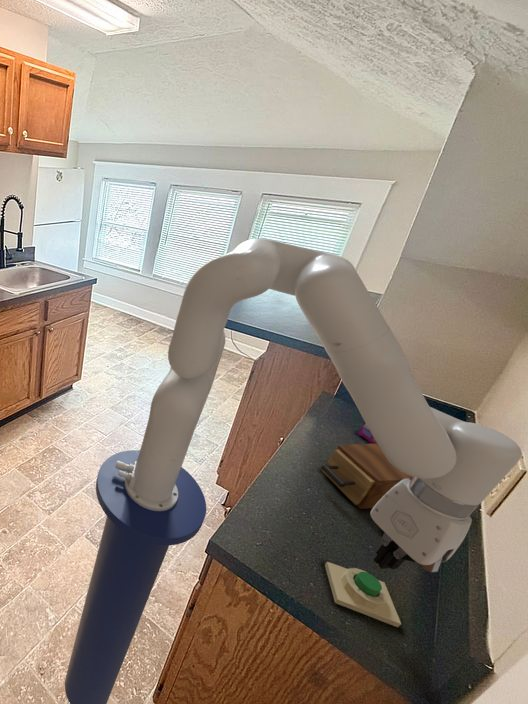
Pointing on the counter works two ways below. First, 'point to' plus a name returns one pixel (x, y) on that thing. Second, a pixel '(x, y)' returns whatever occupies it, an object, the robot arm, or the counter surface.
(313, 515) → the counter surface
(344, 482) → the drawer
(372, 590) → the button
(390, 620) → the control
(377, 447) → the cabinet
